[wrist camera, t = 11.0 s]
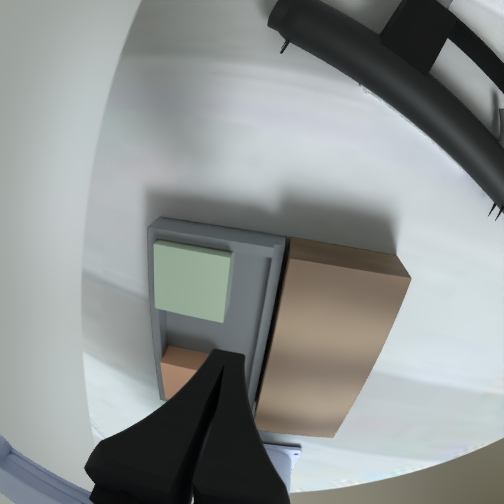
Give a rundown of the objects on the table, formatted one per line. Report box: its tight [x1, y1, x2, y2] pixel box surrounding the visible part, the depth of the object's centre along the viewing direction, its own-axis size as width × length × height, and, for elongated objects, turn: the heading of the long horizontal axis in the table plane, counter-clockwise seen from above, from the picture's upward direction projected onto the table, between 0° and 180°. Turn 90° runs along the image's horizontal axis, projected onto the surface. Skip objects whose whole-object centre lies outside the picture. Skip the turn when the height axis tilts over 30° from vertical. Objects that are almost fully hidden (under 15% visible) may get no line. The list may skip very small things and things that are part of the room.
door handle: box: [268, 0, 504, 221], centre depth 11 cm, size 3×20×16 cm
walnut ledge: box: [254, 237, 412, 438], centre depth 21 cm, size 16×7×3 cm, turn 173°
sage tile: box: [154, 239, 236, 323], centre depth 19 cm, size 4×4×2 cm
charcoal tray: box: [147, 217, 286, 411], centre depth 21 cm, size 16×8×2 cm, turn 173°
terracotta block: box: [160, 345, 209, 399], centre depth 23 cm, size 4×4×2 cm
